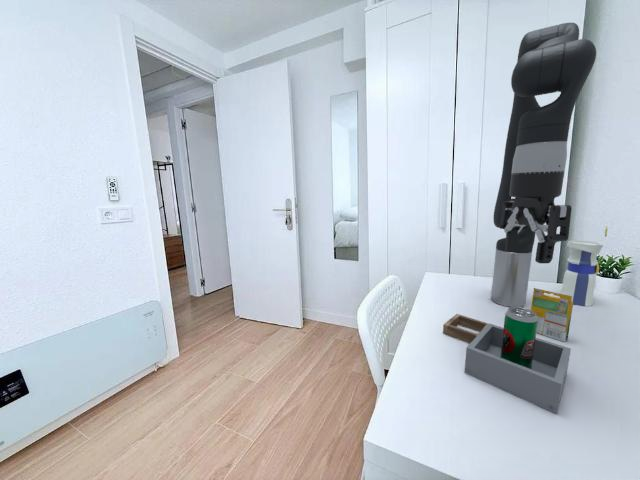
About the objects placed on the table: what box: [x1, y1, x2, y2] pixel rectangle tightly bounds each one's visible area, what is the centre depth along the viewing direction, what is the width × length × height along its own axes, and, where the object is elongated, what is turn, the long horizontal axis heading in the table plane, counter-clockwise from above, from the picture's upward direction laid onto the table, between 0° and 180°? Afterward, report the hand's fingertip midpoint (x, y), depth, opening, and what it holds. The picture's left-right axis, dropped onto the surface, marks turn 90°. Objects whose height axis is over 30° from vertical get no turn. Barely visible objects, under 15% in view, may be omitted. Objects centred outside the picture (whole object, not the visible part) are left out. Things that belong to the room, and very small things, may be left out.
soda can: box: [500, 307, 538, 369], centre depth 52 cm, size 5×5×12 cm
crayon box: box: [530, 287, 574, 343], centre depth 65 cm, size 7×3×12 cm, turn 37°
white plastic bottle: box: [560, 225, 608, 307], centre depth 83 cm, size 8×9×25 cm
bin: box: [464, 323, 572, 415], centre depth 52 cm, size 14×14×6 cm
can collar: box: [442, 313, 489, 344], centre depth 67 cm, size 8×8×2 cm
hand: (525, 256), depth 51 cm, fingers open, 8 cm apart
